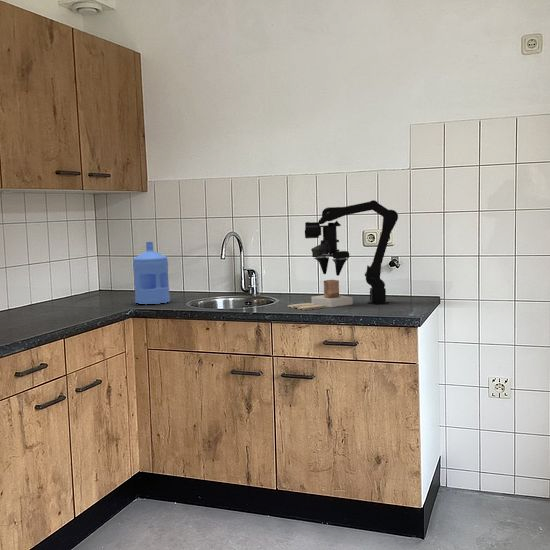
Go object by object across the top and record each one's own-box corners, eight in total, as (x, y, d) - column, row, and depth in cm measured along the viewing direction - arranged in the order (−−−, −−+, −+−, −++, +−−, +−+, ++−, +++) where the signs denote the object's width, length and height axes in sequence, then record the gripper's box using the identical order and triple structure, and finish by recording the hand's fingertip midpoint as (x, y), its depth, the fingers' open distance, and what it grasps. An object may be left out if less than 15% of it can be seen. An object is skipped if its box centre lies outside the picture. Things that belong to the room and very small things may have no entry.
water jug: (129, 303, 305) (126, 242, 302) (160, 299, 314) (157, 240, 311) (144, 306, 292) (140, 243, 289) (176, 302, 302) (172, 241, 299)
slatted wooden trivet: (325, 307, 269) (325, 305, 269) (305, 310, 264) (305, 308, 263) (307, 304, 280) (307, 302, 280) (287, 307, 275) (287, 305, 274)
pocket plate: (352, 304, 275) (352, 297, 275) (331, 307, 270) (331, 299, 269) (332, 301, 287) (332, 294, 287) (311, 303, 281) (311, 296, 281)
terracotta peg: (339, 304, 278) (338, 280, 277) (330, 305, 275) (330, 281, 274) (333, 303, 282) (332, 279, 281) (324, 304, 279) (323, 280, 278)
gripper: (301, 238, 279) (302, 275, 281) (327, 239, 264) (328, 278, 265) (322, 236, 285) (324, 272, 287) (349, 237, 269) (350, 275, 271)
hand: (331, 274), depth 277 cm, fingers open, 9 cm apart
